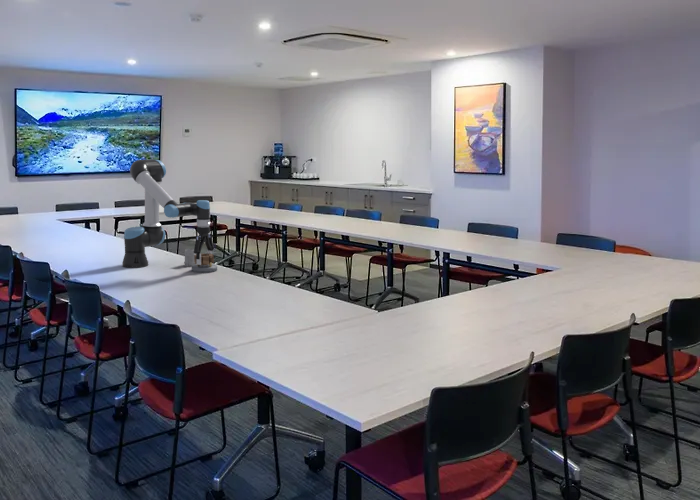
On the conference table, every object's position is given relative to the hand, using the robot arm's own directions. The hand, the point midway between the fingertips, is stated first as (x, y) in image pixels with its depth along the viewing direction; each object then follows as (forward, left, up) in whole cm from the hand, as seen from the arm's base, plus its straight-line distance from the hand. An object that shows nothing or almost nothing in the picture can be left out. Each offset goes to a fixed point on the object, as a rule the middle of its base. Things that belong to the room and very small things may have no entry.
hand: (204, 262), depth 375 cm
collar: (0, 0, 0) cm, 0 cm away
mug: (-16, +12, -5) cm, 20 cm away
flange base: (0, 0, -5) cm, 5 cm away
